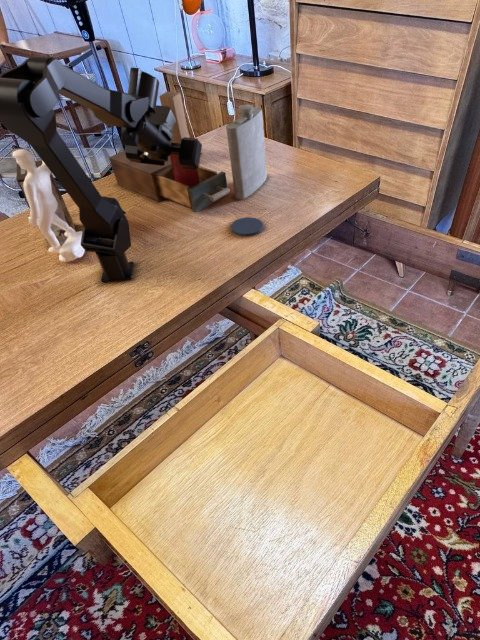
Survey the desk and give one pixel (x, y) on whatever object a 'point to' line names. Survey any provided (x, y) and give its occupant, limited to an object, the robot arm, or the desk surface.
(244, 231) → the mat
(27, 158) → the figurine
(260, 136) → the hip flask
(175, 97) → the wooden block
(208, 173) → the drawer
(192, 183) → the can
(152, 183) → the cabinet
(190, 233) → the desk surface
